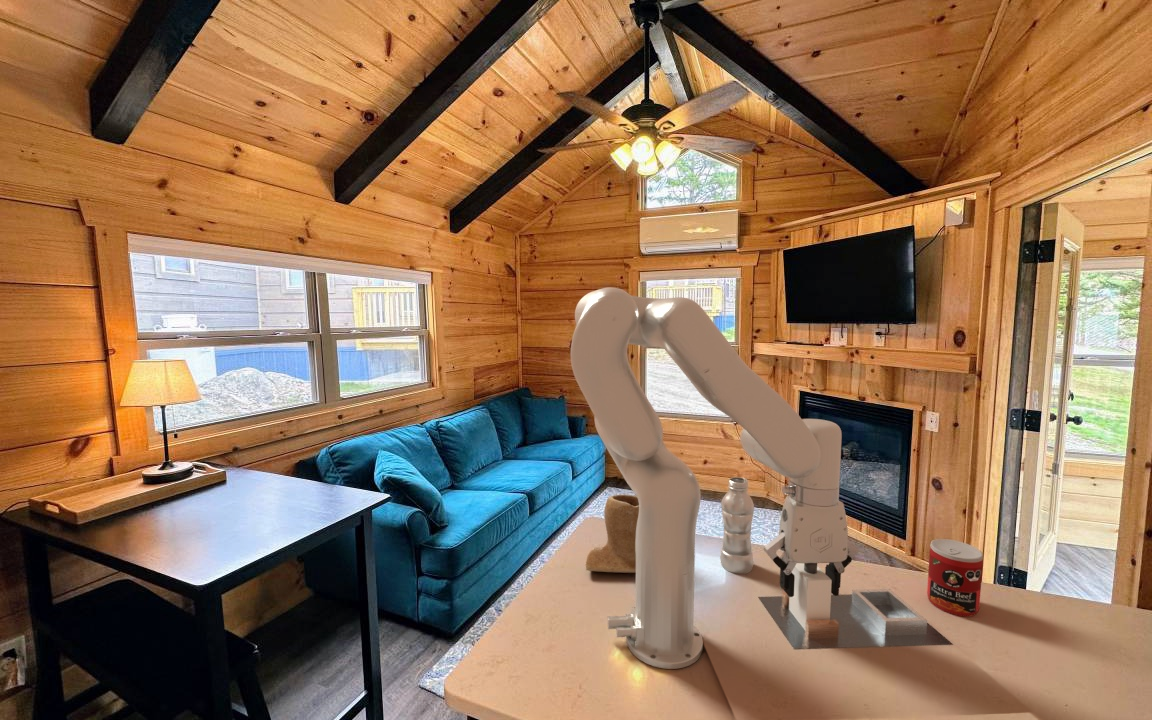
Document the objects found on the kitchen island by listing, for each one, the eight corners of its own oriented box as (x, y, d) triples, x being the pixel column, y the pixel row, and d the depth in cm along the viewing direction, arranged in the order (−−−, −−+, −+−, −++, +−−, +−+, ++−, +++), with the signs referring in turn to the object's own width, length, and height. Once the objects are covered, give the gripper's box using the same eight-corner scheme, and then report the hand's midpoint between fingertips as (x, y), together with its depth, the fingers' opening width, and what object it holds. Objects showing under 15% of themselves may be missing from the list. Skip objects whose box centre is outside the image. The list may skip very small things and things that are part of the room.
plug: (805, 631, 80) (808, 569, 78) (788, 609, 86) (791, 551, 84) (829, 630, 80) (832, 568, 79) (810, 608, 86) (813, 550, 85)
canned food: (923, 605, 88) (927, 549, 87) (929, 587, 94) (933, 534, 93) (977, 623, 83) (982, 564, 82) (980, 603, 89) (984, 547, 88)
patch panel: (793, 656, 76) (794, 634, 75) (757, 602, 89) (758, 584, 89) (952, 651, 76) (954, 629, 76) (892, 599, 90) (893, 580, 90)
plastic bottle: (757, 580, 97) (760, 485, 95) (724, 580, 97) (727, 485, 95) (747, 563, 104) (749, 474, 102) (716, 563, 104) (717, 474, 102)
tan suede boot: (653, 551, 109) (653, 488, 108) (659, 580, 97) (659, 510, 96) (587, 550, 110) (587, 487, 109) (585, 578, 98) (585, 509, 97)
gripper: (772, 502, 76) (769, 606, 78) (878, 500, 77) (872, 603, 79) (754, 485, 84) (751, 581, 86) (850, 483, 84) (845, 578, 86)
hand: (809, 591), depth 82 cm, fingers open, 7 cm apart
